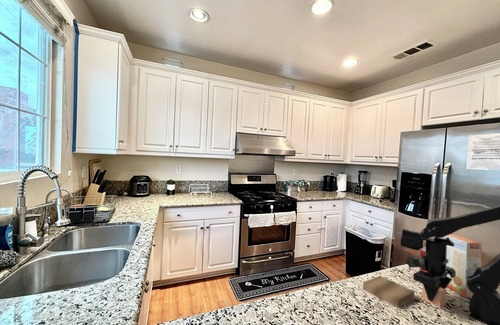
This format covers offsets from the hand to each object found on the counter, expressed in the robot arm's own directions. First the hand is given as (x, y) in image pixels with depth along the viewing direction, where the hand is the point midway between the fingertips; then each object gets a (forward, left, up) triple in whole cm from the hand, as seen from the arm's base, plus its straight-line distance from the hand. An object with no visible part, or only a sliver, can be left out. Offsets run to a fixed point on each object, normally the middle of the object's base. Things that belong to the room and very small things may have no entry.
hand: (434, 298), depth 75 cm
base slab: (+10, +11, -2) cm, 15 cm away
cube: (0, 0, -1) cm, 1 cm away
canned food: (+10, -26, -1) cm, 28 cm away
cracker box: (0, -20, -1) cm, 20 cm away
